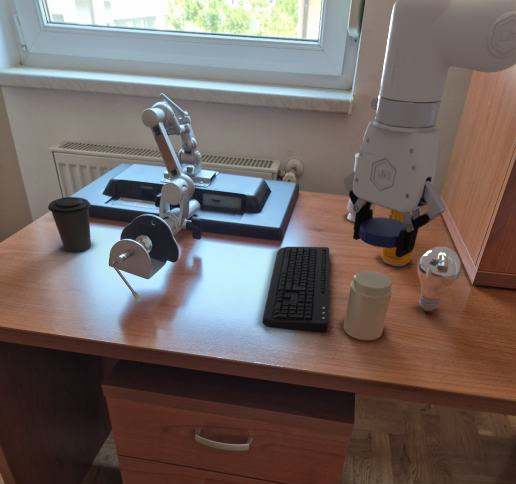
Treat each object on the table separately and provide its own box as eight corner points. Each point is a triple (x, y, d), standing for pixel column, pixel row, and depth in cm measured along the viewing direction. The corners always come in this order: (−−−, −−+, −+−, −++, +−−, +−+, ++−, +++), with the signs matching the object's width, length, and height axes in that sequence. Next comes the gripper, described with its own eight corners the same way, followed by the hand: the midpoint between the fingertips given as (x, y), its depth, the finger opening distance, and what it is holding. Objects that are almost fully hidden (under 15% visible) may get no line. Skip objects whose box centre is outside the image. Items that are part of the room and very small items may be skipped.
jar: (390, 330, 79) (402, 280, 73) (366, 345, 75) (377, 293, 70) (359, 314, 83) (369, 265, 77) (335, 327, 79) (343, 277, 74)
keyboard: (277, 250, 103) (278, 241, 101) (328, 255, 102) (329, 246, 100) (261, 326, 79) (261, 315, 78) (326, 332, 78) (328, 322, 77)
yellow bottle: (376, 254, 103) (390, 184, 94) (403, 254, 103) (419, 184, 94) (385, 267, 98) (401, 195, 89) (414, 267, 98) (432, 195, 90)
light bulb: (414, 296, 89) (430, 235, 81) (451, 308, 85) (471, 246, 78) (400, 312, 84) (416, 249, 77) (439, 325, 81) (459, 261, 74)
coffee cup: (49, 246, 100) (38, 199, 94) (83, 235, 105) (74, 190, 99) (71, 258, 96) (60, 210, 90) (105, 246, 101) (97, 200, 95)
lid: (348, 236, 70) (350, 225, 69) (378, 224, 74) (380, 213, 72) (388, 252, 66) (390, 241, 65) (417, 238, 69) (420, 227, 68)
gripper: (334, 106, 63) (320, 233, 73) (453, 130, 53) (417, 274, 63) (369, 100, 67) (351, 222, 77) (486, 122, 57) (447, 259, 67)
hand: (381, 244), depth 70 cm, fingers closed on lid, 7 cm apart
